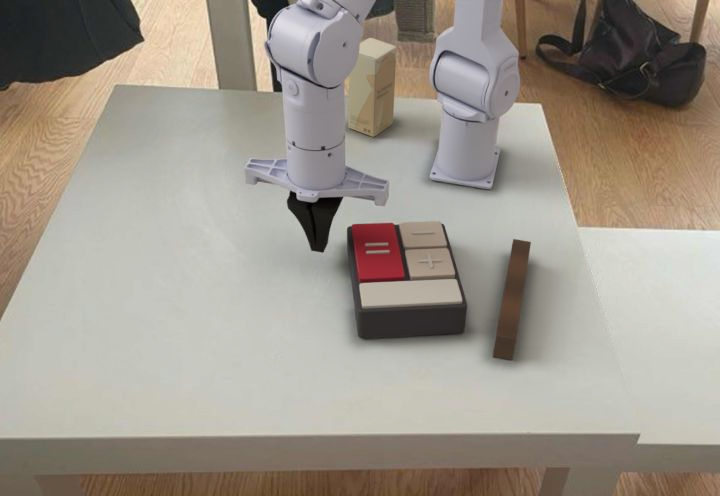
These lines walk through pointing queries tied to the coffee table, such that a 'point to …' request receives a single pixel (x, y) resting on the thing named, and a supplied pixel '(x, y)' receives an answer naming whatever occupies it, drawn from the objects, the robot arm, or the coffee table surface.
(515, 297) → the rail
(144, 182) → the coffee table surface
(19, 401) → the coffee table surface
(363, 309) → the calculator
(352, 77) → the box
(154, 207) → the coffee table surface
